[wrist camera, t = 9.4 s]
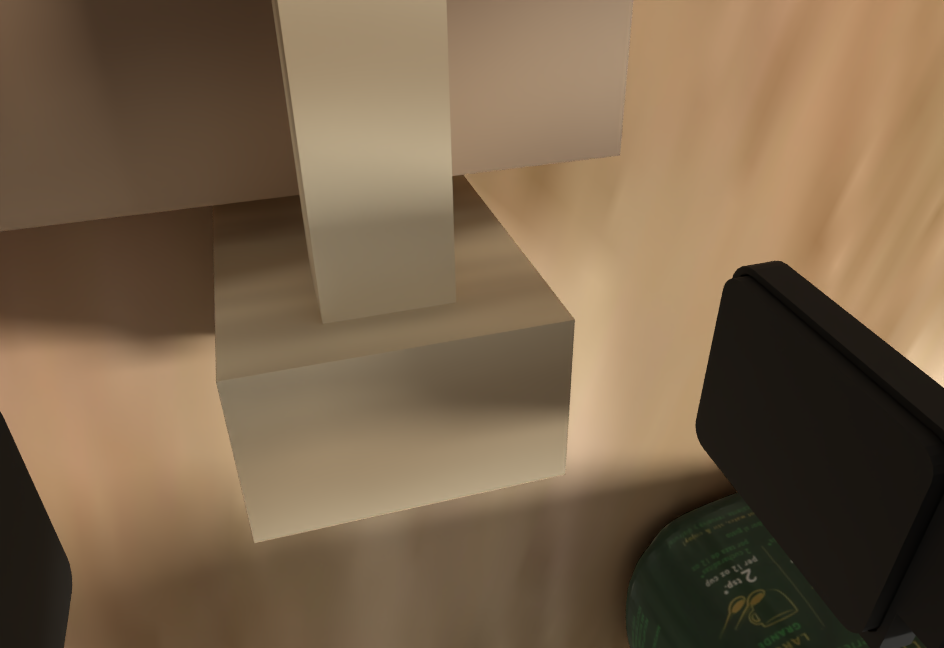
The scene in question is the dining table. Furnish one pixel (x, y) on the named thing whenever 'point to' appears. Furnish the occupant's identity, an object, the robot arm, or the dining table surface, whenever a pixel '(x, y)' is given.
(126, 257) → the dining table surface
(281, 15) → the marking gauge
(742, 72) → the dining table surface
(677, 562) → the coffee jar
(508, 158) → the walnut board
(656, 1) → the dining table surface
